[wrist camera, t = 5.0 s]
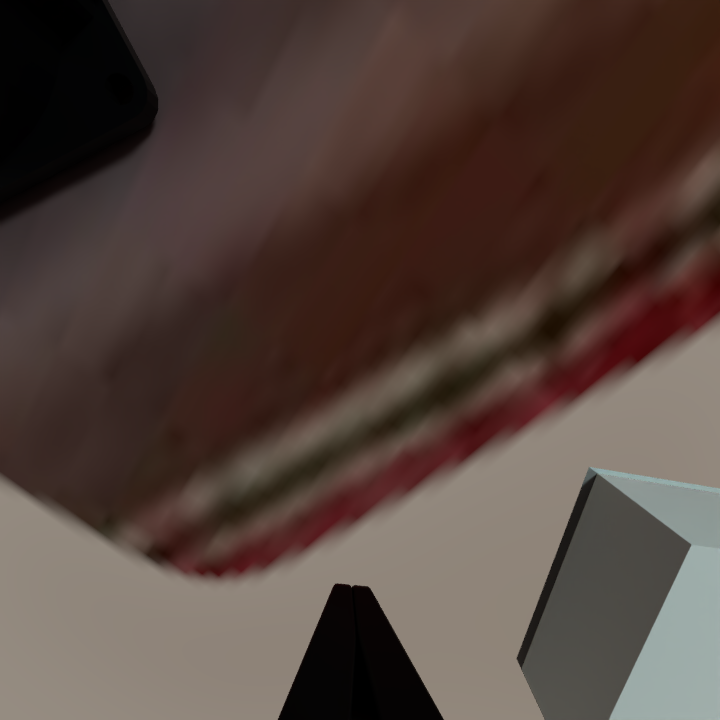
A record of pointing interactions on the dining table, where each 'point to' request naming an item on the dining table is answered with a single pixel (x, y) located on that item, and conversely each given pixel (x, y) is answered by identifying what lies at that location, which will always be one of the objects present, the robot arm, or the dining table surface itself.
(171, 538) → the dining table surface
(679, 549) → the tile
